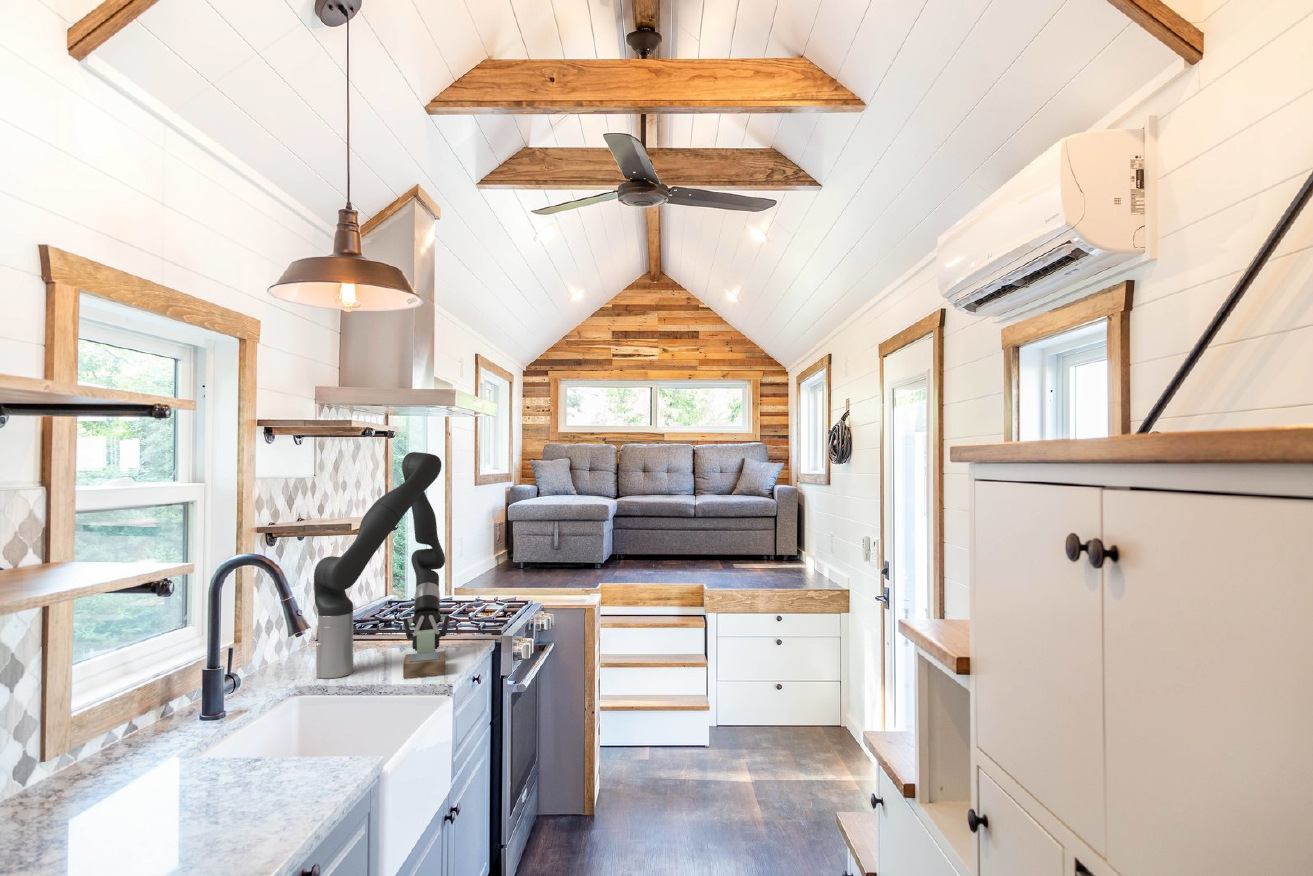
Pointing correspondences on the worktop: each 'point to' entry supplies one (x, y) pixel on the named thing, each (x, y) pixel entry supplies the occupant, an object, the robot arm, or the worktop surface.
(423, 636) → the sage block
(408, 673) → the block
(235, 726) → the worktop surface
